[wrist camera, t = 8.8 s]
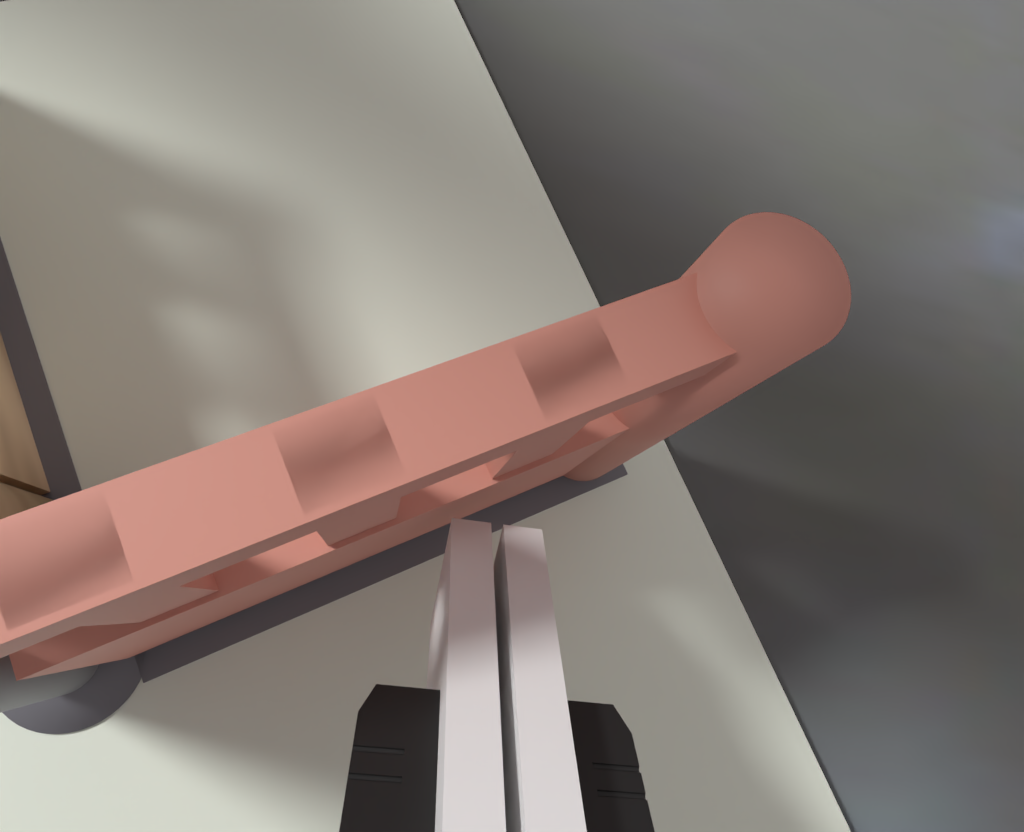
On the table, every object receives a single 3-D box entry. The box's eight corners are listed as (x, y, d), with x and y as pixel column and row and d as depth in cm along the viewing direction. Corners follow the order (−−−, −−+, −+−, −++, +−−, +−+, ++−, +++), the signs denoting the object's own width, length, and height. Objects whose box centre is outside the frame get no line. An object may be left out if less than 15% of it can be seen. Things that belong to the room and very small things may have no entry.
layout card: (-345, 77, 17) (-363, 63, 17) (418, -61, 23) (419, -75, 22) (25, 1628, 12) (12, 1666, 12) (911, 974, 17) (924, 983, 17)
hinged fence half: (32, 719, 15) (-531, 901, 6) (6, 626, 15) (-566, 656, 6) (630, 464, 18) (877, 324, 9) (598, 395, 19) (806, 195, 10)
